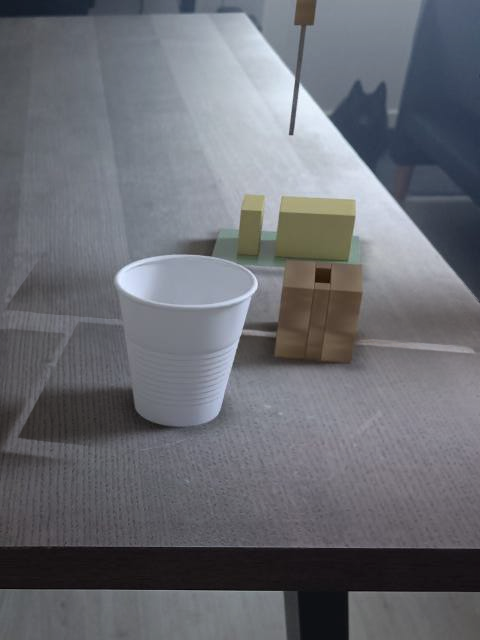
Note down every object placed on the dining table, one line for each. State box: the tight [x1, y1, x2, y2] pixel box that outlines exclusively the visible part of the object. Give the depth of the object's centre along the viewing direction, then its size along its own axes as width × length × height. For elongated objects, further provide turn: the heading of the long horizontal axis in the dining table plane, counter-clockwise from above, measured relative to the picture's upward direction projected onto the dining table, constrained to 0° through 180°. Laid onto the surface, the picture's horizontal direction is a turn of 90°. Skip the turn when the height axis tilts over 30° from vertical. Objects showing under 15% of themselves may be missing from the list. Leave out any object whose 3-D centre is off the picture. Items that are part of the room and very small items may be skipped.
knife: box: [288, 0, 318, 137], centre depth 88 cm, size 2×3×17 cm, turn 165°
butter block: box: [274, 195, 357, 261], centre depth 101 cm, size 7×5×4 cm
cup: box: [113, 254, 259, 428], centre depth 75 cm, size 10×10×11 cm
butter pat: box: [237, 194, 266, 255], centre depth 103 cm, size 2×5×4 cm, turn 164°
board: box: [211, 228, 361, 268], centre depth 104 cm, size 14×10×2 cm
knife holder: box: [273, 260, 364, 364], centre depth 84 cm, size 6×6×7 cm
